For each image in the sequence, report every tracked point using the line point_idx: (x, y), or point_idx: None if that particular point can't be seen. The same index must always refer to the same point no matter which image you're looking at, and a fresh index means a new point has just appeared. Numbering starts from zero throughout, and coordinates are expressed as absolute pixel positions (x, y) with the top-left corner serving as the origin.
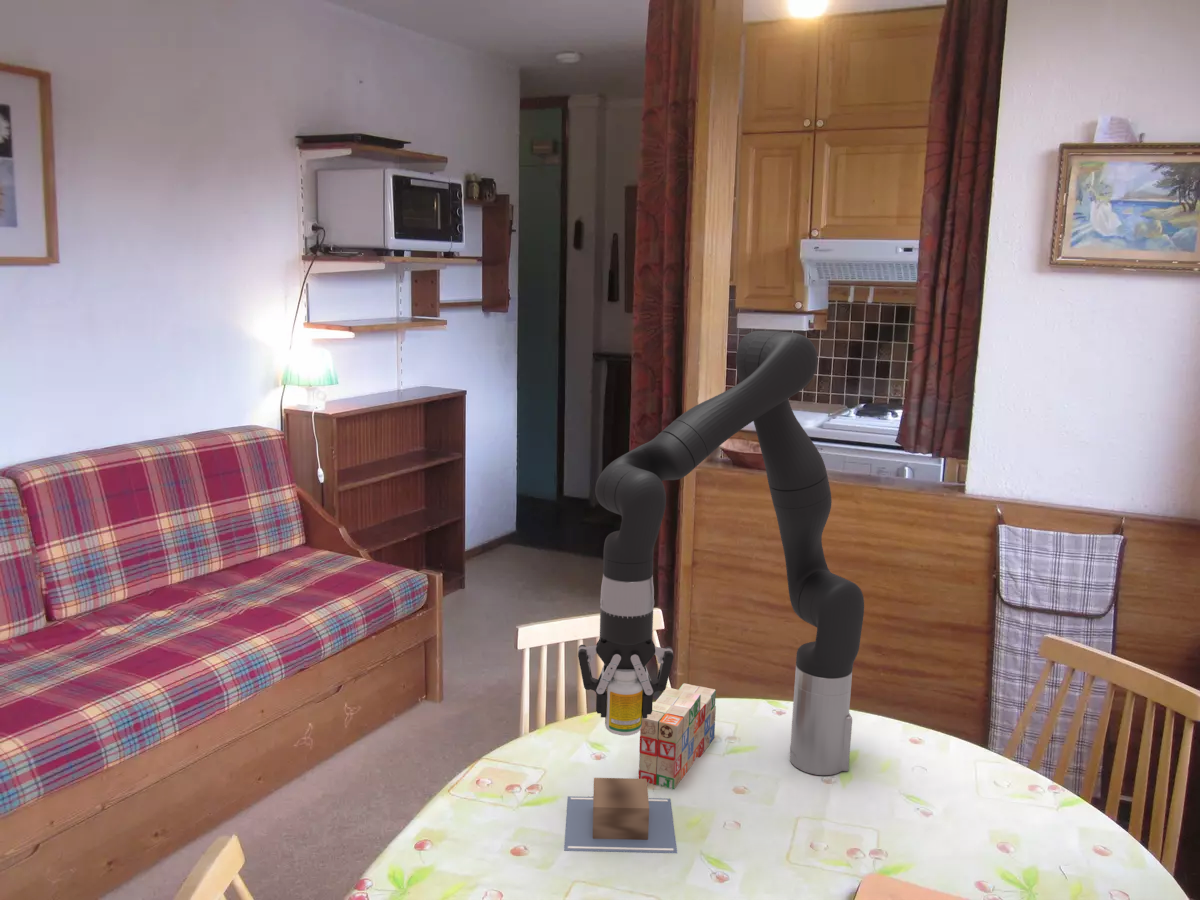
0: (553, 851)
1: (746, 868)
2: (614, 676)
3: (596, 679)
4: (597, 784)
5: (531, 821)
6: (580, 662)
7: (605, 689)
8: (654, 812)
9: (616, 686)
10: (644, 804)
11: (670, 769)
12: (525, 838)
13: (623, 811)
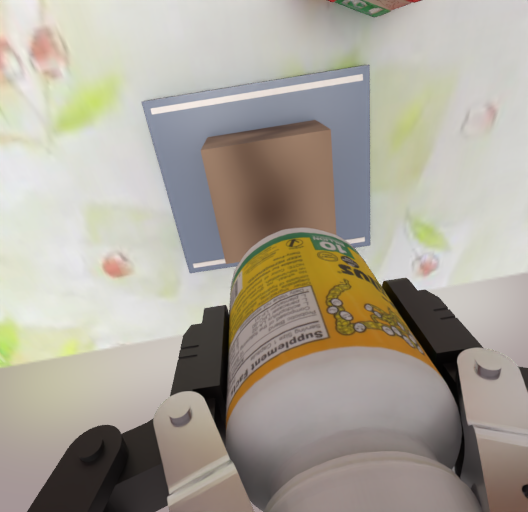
0: (170, 257)
1: (470, 240)
2: None
3: (154, 471)
4: (216, 180)
5: (100, 184)
6: None
7: (219, 398)
8: (333, 129)
9: None
10: None
11: (389, 2)
12: (112, 234)
13: None
